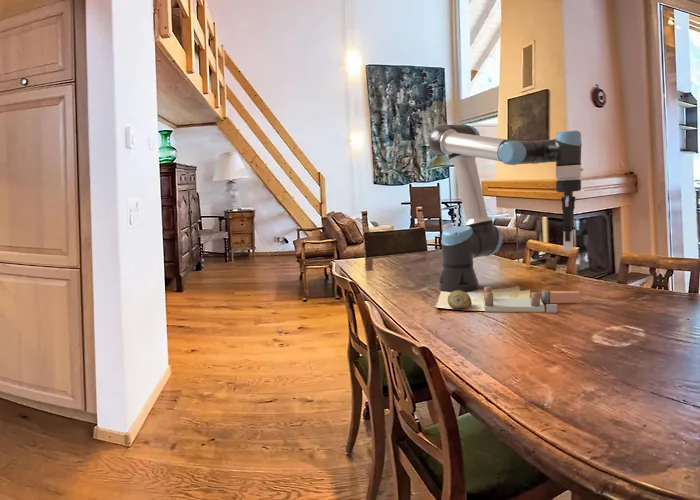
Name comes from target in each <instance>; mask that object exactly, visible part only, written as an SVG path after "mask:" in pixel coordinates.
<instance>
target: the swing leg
mask: <svg viewBox="0 0 700 500" xmlns="http://www.w3.org/2000/svg"><path fill="white" fill-rule="evenodd" d="M541 301H542V303H543V304H580V303H581V292H580V291H579V290H542V291H541Z"/></svg>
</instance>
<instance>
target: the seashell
mask: <svg viewBox="0 0 700 500" xmlns="http://www.w3.org/2000/svg"><path fill="white" fill-rule="evenodd" d="M447 304H448V306H449V307H450V308H452V309H455V310H457V309H461V308H462V309H470V308H472V306H473V304H472V298H471V296H470V295H469V294H468V293H467V291H461V290H455V291H450V293H449V294H448V297H447Z"/></svg>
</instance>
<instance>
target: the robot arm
mask: <svg viewBox="0 0 700 500" xmlns="http://www.w3.org/2000/svg"><path fill="white" fill-rule="evenodd" d="M427 141H428V146H429V148H430V150H432V152H434V153H435V154H438V155H447V157H448V161H449V163H451V164H452V165H453V167H454V173H455V175H456V176H455V177H456V181H457V184H458V191H459V194H460V199H461V203H462V209H463V213H464V217H465V223H464V225H459V226H458V225H457V226H453V227H449V228H447V229H445V230H443V231H442V233H441V241H440V242H441V243H440V244H441V255H442V256H441V257H442V260H441V261H442V269H441V273H440V275H439V280H438V289H439V290H441V291H446V292H453V291H455V290H461V291H464V292H469V291H471V292H472V291H474V290H477V289H479V280H478V277H477V275H476V272H475V269H474V259H476V258H481V257H487V256H491V255H494V254H496V253H497V252H498V251H499V250H500V248H501V246H502V244H503V234H502V231H501V230H500V229H499V228H498V226H496V225H494V222H493V219H491V217H489V216H488V212H487V209H486V208H487V207H486V203H485V199H484V194H483V190H482V184H481V181H480V176H479V172H478V168H477V162H476V158H480V159H485V160H491V161H496V162H497V161H498V162H501V163H502V164H504V165H508V166H515V165H523V164H524V165H527V164H533V165H534V164H535V165H536V164H543V163H544V164H546V163H555V179H556V182H555V190H556V192H558V193H563V196H562V197H561V200H560V201H561V205H562V206H561V207H562V208H561V210H562V229H560V231H561V232H562V233H563V234H562V235H563V237H562V239H563V241H562V242H563V246H562V248H563V249H562V251H563V252H573V250H574V230H576V226H575V224H574V219H575V218H574V217H575V216H574V214H575V213H574V210H575V203H576V196H574V192H579V191H581V190H582V180H581V179H580V178H581V177H582V172H583V171H584V168H583V167H582V145H583V144H582V133H581V132H580V131H579V130H565V131H560V132H557V133H556V135H555V138H553V139H544V140H513V139H507V138H499V137H491V136H483V135H481V134H480V132H479V130H477V128H475V127H474V126H472V125H467V124H464V123H463V124H441V125H440V124H439V125H437V126H435V127H434V128H433V129H432V130H431V131H430V133H429V135H428V139H427Z"/></svg>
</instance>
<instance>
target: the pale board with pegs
mask: <svg viewBox="0 0 700 500" xmlns="http://www.w3.org/2000/svg"><path fill="white" fill-rule="evenodd" d="M483 293H484V295H483V309H484V312H486V313H487V312H489V313H491V312H492V313H493V312H496V313H497V312H498V313H499V312H501V313H503V312H505V313H506V312H507V313H510V312H511V313H512V312H513V313H515V312H517V313H520V312H522V313H523V312H524V313H525V312H526V313H527V312H529V313H532V312H533V313H534V312H535V313H539V312H540V313H545V312H546V313H551V314H553V313H558V303H545V305H544V303H542V298H541V293H540V292H539V291H537V292H536V291H533V292H530V297H494V293H493V286H484V287H483ZM545 308H546V309H545Z"/></svg>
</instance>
